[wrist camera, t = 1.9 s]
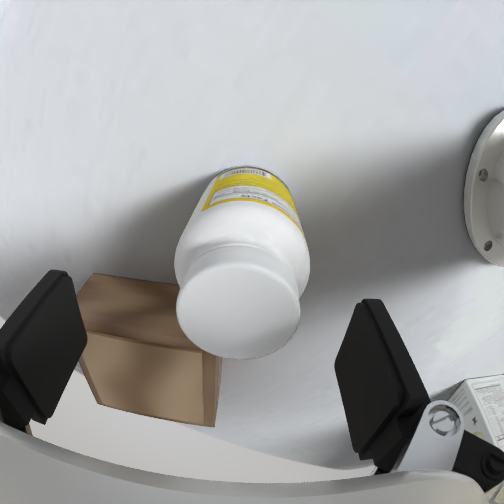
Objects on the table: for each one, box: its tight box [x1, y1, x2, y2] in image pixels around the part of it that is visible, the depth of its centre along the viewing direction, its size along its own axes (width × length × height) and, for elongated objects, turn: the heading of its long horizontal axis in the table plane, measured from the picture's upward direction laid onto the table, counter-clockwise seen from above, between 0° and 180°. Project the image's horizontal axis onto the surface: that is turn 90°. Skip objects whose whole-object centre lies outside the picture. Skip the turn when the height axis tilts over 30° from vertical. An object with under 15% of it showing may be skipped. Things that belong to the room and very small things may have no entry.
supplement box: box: [447, 374, 504, 452], centre depth 22 cm, size 13×13×18 cm
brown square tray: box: [76, 273, 222, 427], centre depth 21 cm, size 10×10×5 cm
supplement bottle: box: [174, 165, 310, 360], centre depth 14 cm, size 5×5×10 cm
